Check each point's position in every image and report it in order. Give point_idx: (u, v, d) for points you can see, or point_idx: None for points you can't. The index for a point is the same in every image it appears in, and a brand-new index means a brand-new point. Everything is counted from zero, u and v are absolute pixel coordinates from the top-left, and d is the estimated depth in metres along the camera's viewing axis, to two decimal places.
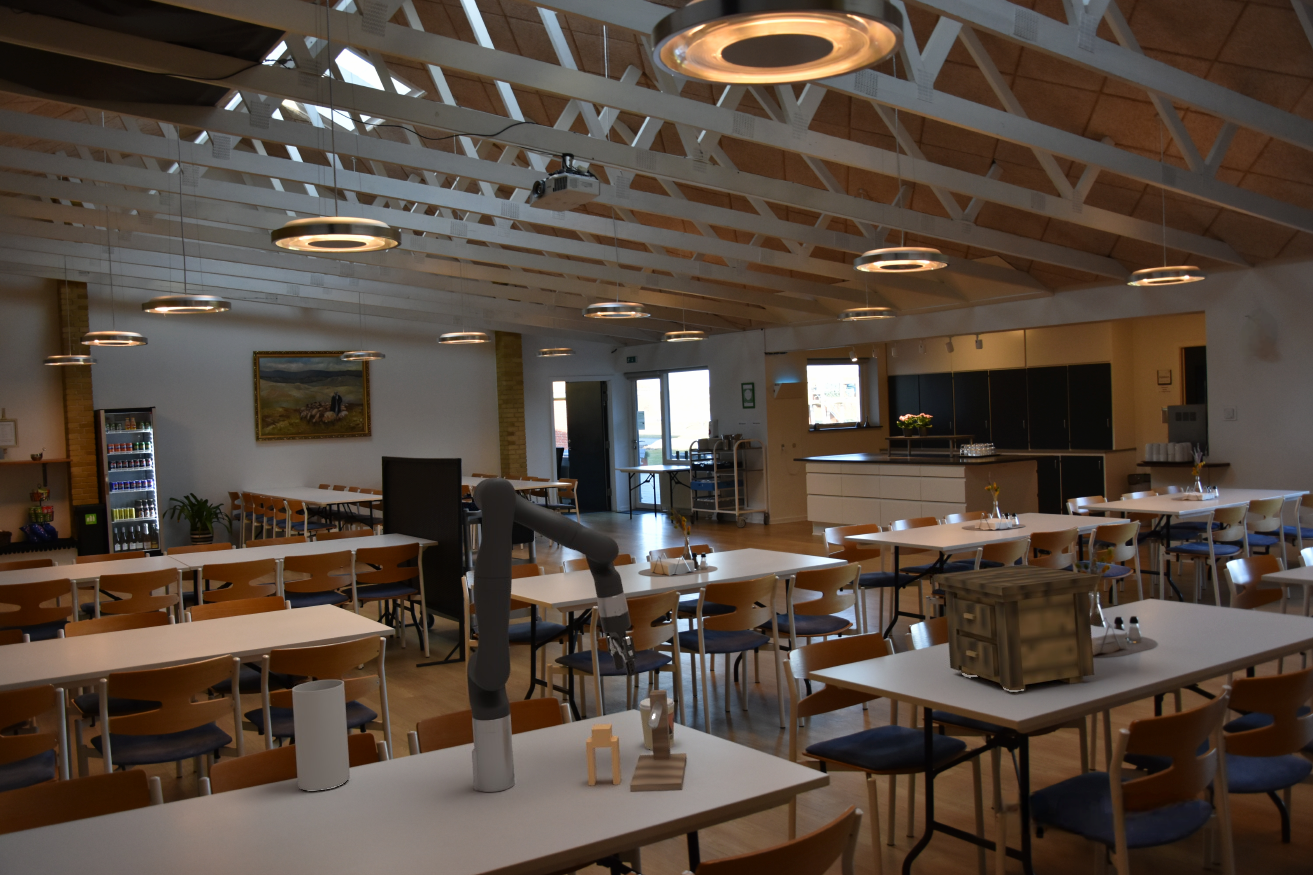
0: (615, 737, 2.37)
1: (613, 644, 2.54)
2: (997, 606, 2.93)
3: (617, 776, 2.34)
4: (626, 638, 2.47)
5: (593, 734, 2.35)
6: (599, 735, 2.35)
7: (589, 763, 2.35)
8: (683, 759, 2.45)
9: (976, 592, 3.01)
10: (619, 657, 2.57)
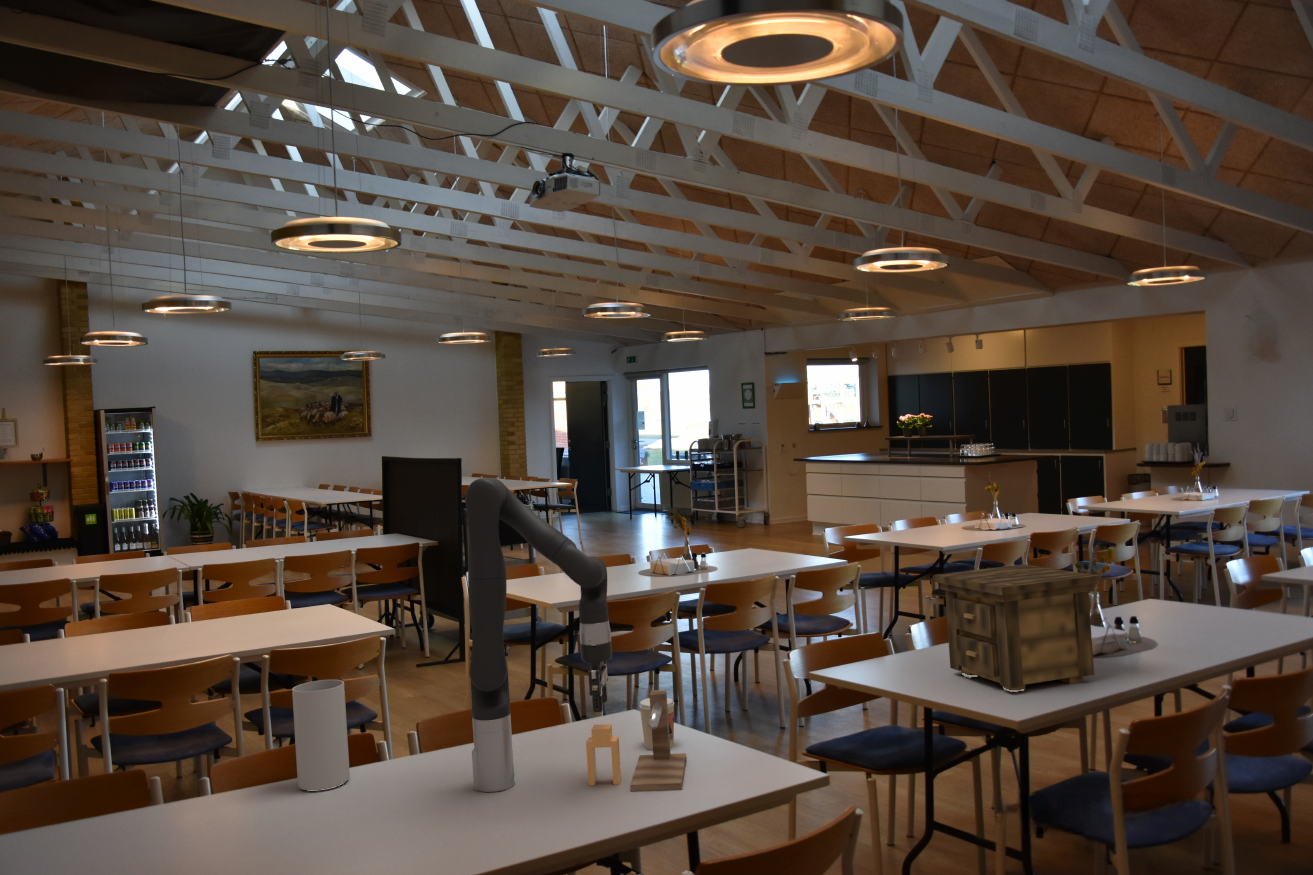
0: (615, 737, 2.37)
1: None
2: (997, 606, 2.93)
3: (617, 776, 2.34)
4: (592, 671, 2.30)
5: (593, 734, 2.35)
6: (599, 735, 2.35)
7: (589, 763, 2.35)
8: (683, 759, 2.45)
9: (976, 592, 3.01)
10: (603, 689, 2.41)
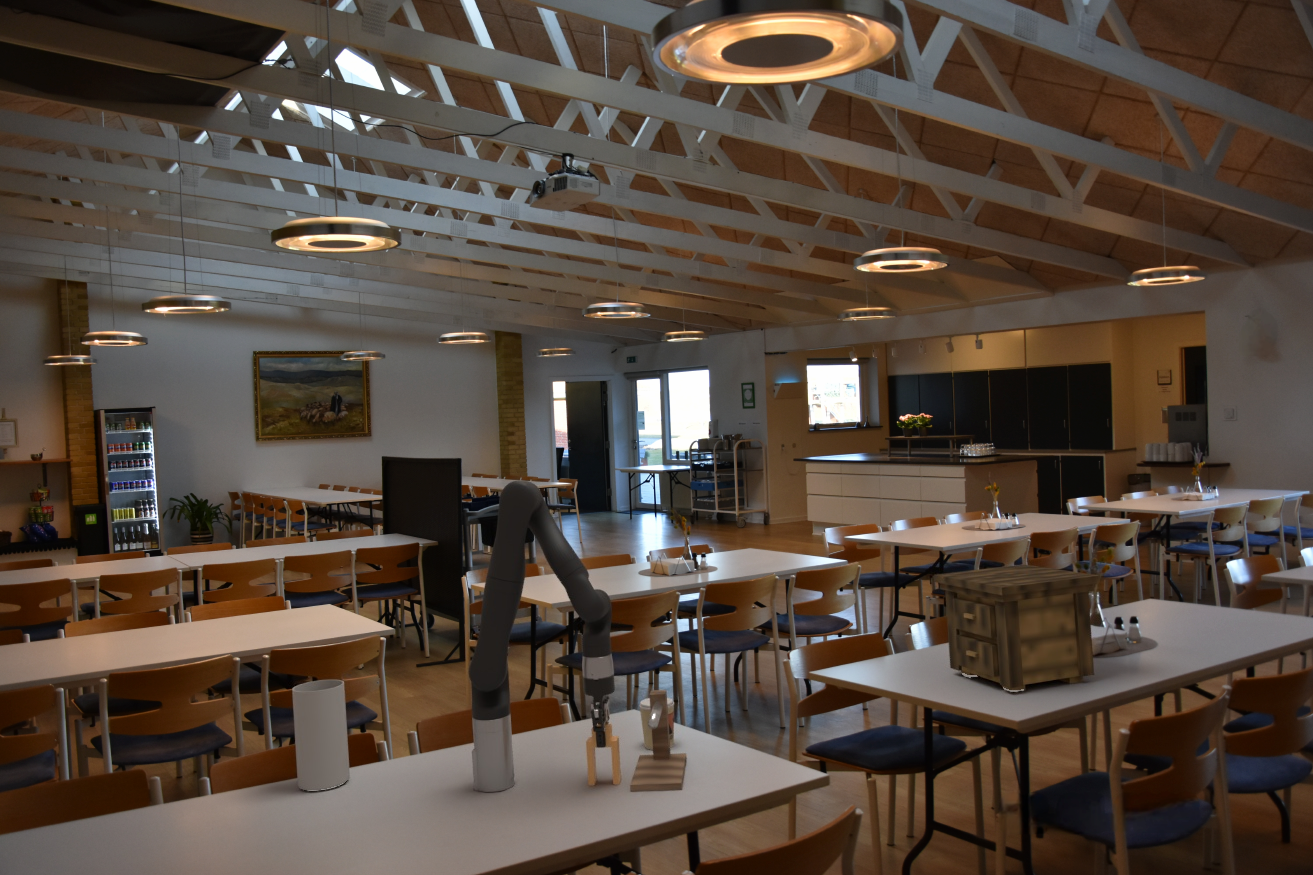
0: (615, 737, 2.37)
1: None
2: (997, 606, 2.93)
3: (617, 776, 2.34)
4: (594, 711, 2.30)
5: (593, 734, 2.35)
6: None
7: (589, 763, 2.35)
8: (683, 759, 2.45)
9: (976, 592, 3.01)
10: None
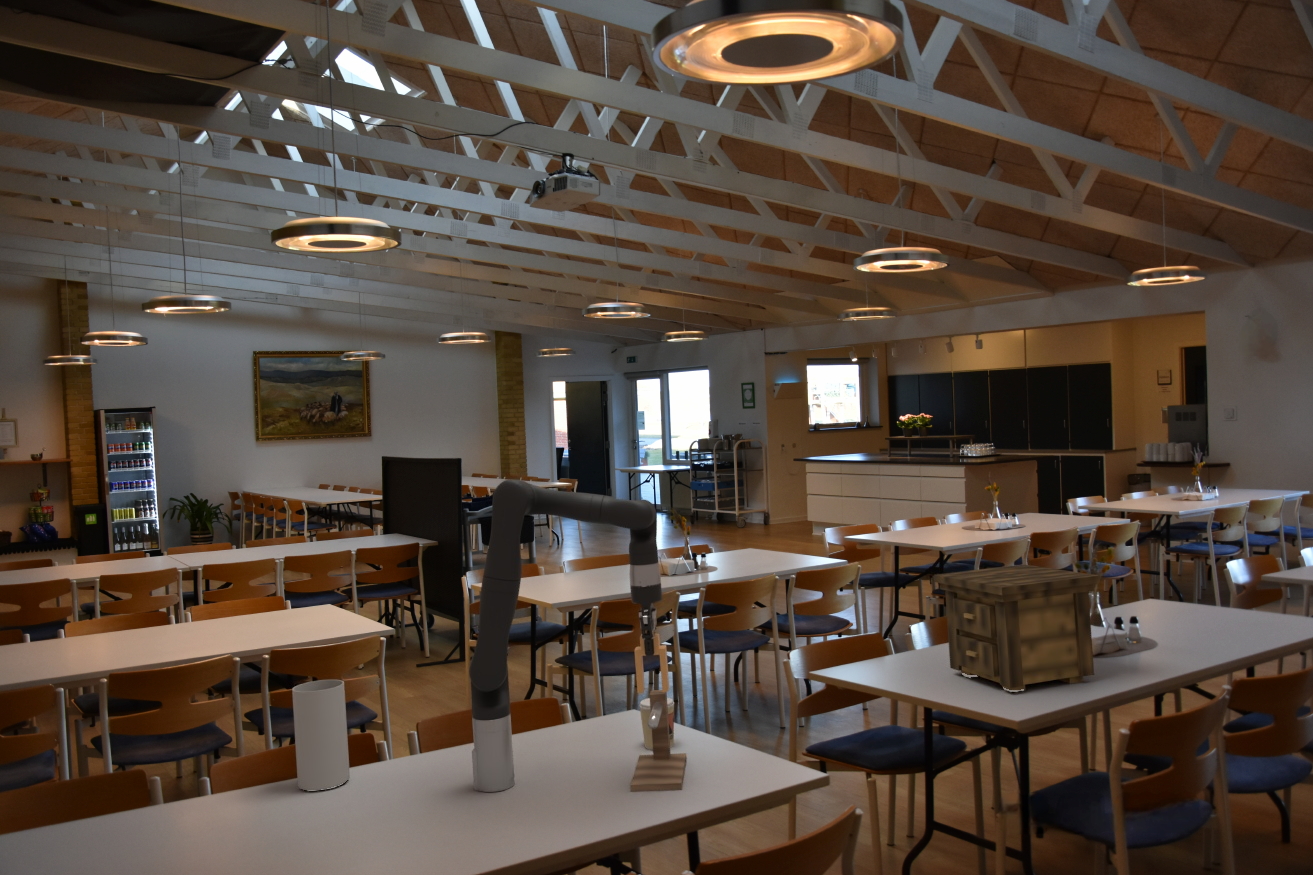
0: (663, 646, 2.37)
1: None
2: (997, 606, 2.93)
3: (666, 684, 2.35)
4: (643, 617, 2.31)
5: (641, 642, 2.35)
6: None
7: (637, 671, 2.35)
8: (683, 759, 2.45)
9: (976, 592, 3.01)
10: None
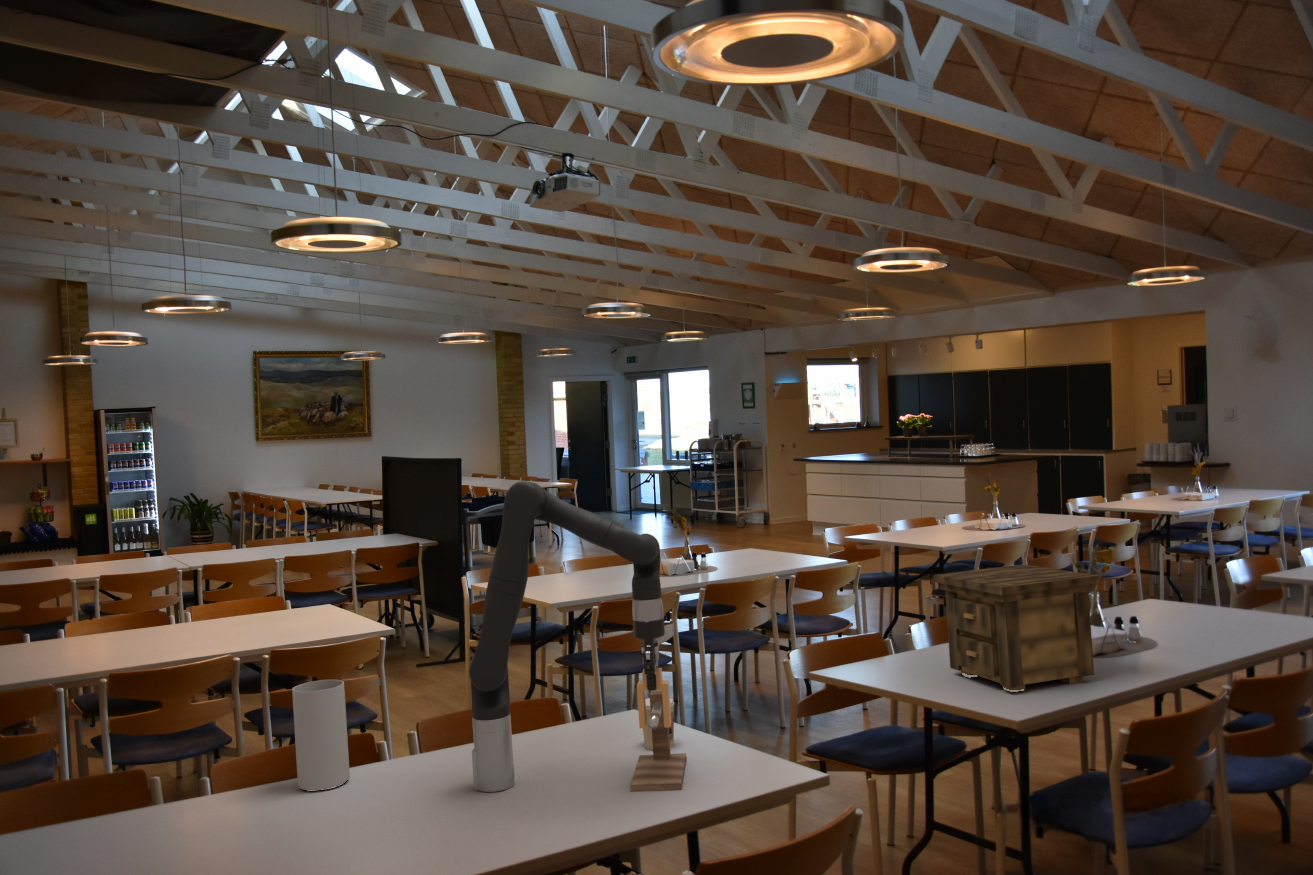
0: (665, 681, 2.37)
1: None
2: (997, 606, 2.93)
3: (668, 719, 2.35)
4: (646, 653, 2.30)
5: (644, 677, 2.35)
6: None
7: (639, 706, 2.35)
8: (683, 759, 2.45)
9: (976, 592, 3.01)
10: None
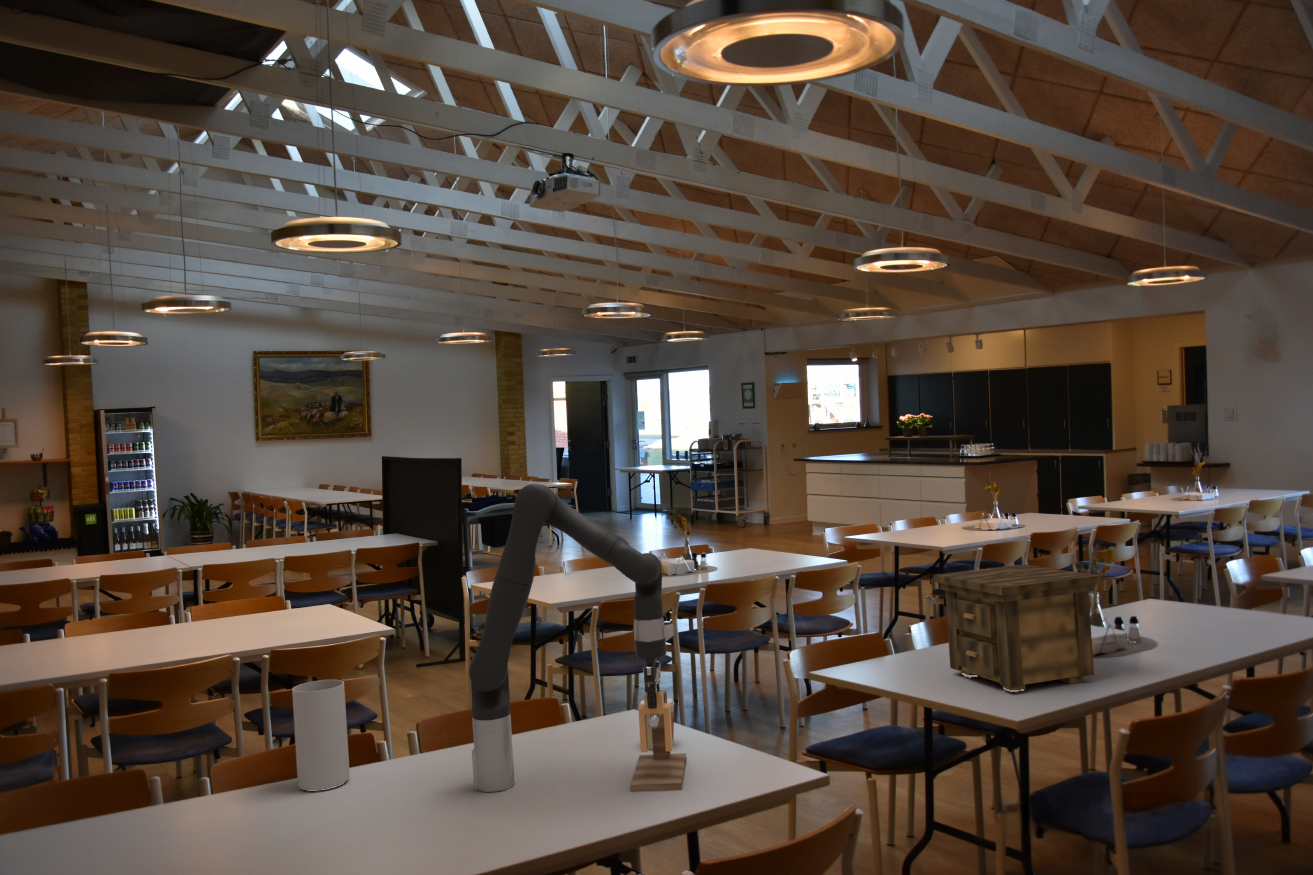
0: (667, 704, 2.37)
1: None
2: (997, 606, 2.93)
3: (669, 743, 2.34)
4: (647, 667, 2.30)
5: (645, 701, 2.35)
6: None
7: (641, 729, 2.35)
8: (683, 759, 2.45)
9: (976, 592, 3.01)
10: (656, 686, 2.41)
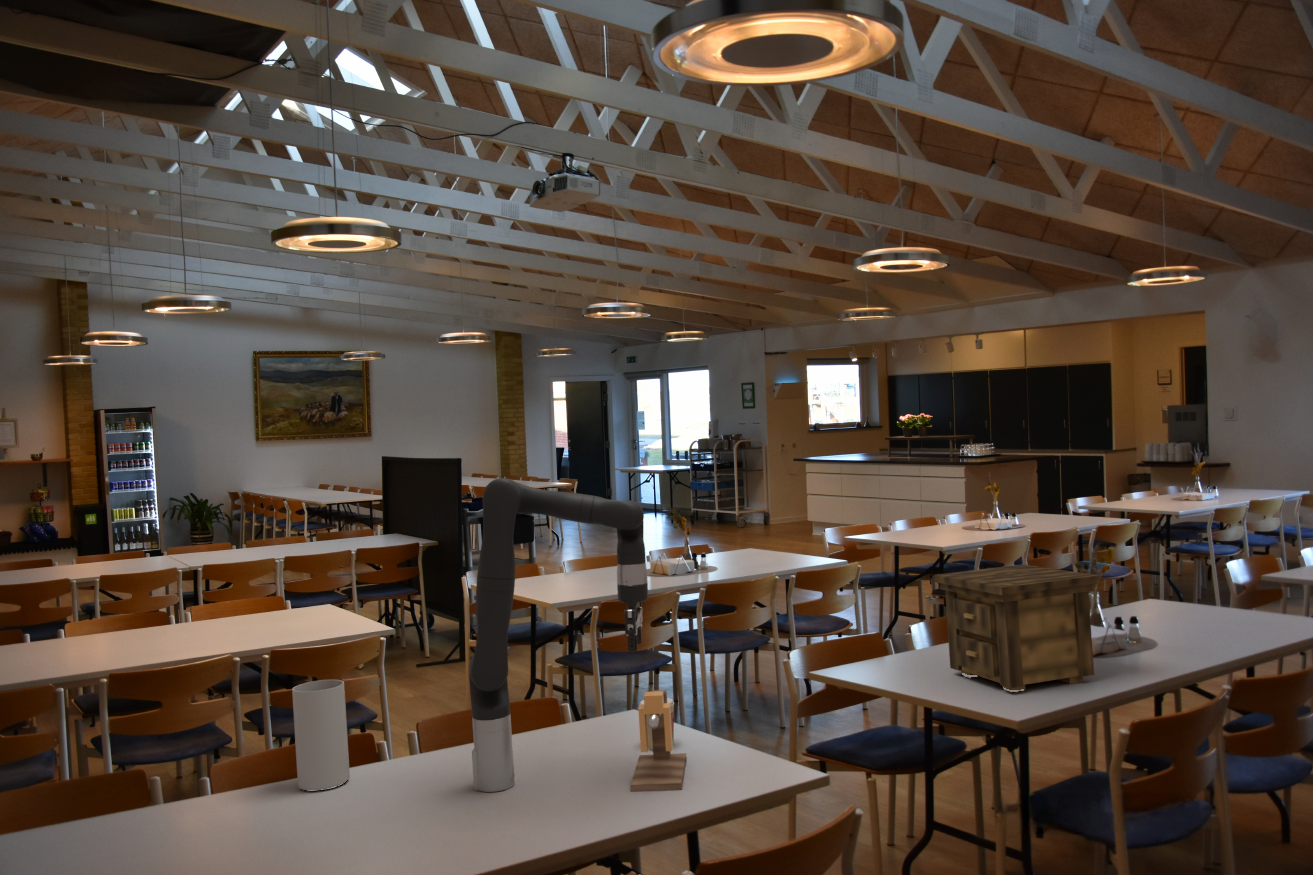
0: (667, 704, 2.37)
1: None
2: (997, 606, 2.93)
3: (669, 743, 2.34)
4: (628, 610, 2.35)
5: (645, 701, 2.35)
6: (652, 702, 2.35)
7: (641, 730, 2.35)
8: (683, 759, 2.45)
9: (976, 592, 3.01)
10: (638, 631, 2.45)
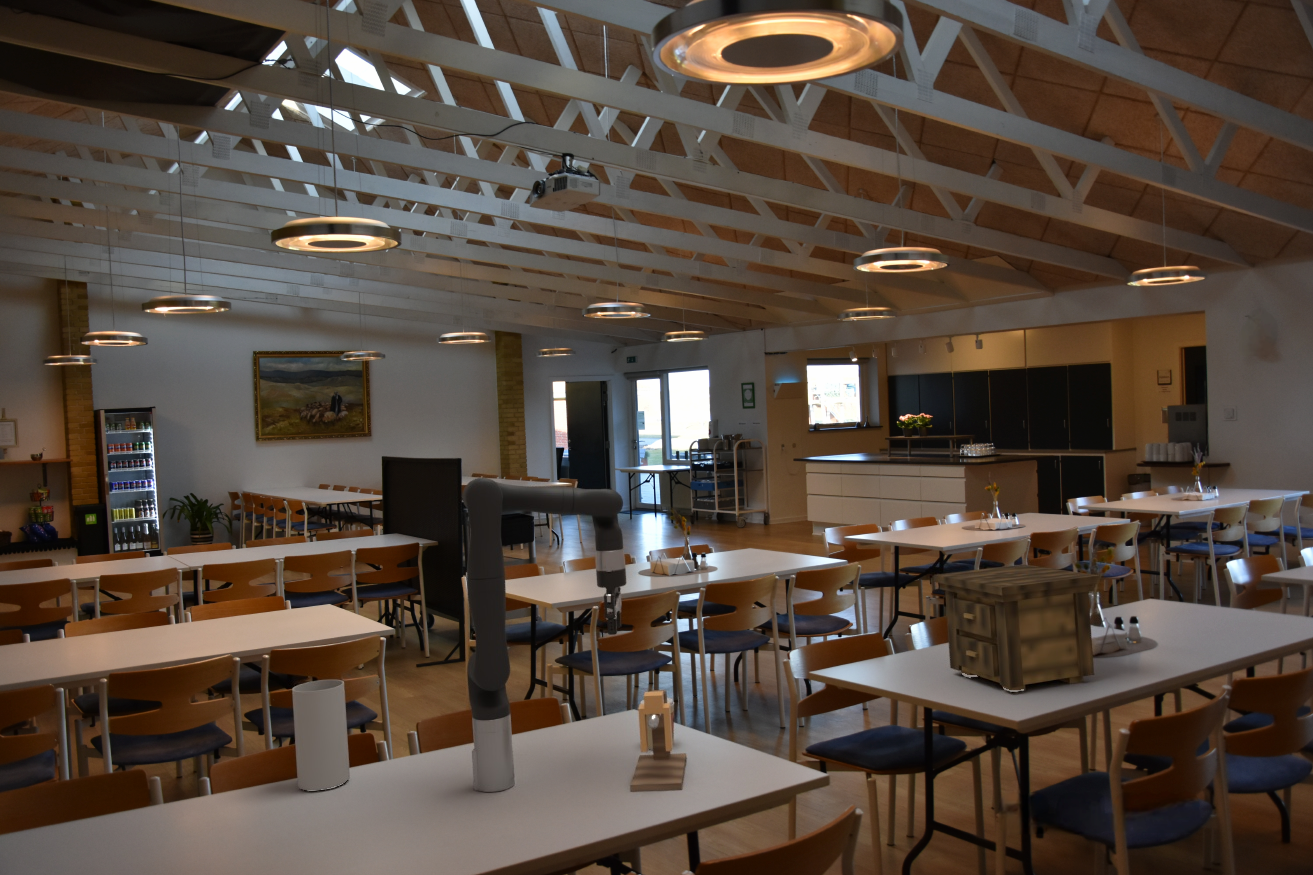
0: (667, 704, 2.37)
1: None
2: (997, 606, 2.93)
3: (669, 743, 2.34)
4: (607, 595, 2.42)
5: (645, 701, 2.35)
6: (652, 702, 2.35)
7: (641, 730, 2.35)
8: (683, 759, 2.45)
9: (976, 592, 3.01)
10: (617, 616, 2.53)
